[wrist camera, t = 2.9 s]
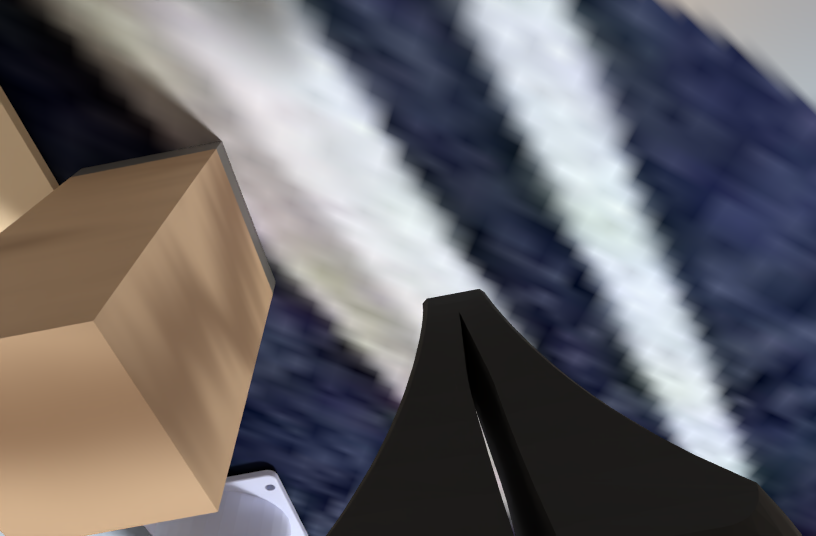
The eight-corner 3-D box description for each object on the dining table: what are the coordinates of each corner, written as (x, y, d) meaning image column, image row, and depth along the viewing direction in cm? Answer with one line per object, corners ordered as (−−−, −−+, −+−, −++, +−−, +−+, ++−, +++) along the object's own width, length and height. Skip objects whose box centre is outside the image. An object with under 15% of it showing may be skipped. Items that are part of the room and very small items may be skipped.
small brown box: (275, 282, 21) (218, 511, 12) (156, 304, 21) (18, 547, 12) (221, 140, 17) (93, 320, 9) (81, 168, 18) (-176, 372, 9)
